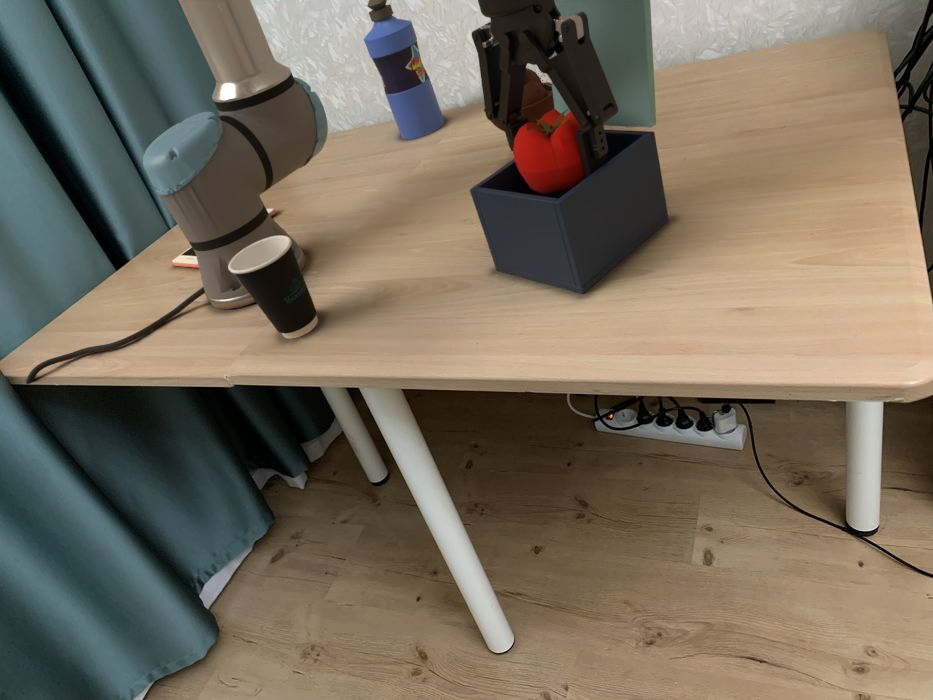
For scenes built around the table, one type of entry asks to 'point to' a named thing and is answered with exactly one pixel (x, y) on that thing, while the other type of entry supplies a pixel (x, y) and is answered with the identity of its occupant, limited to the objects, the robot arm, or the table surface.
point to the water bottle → (402, 72)
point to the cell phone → (190, 256)
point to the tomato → (549, 153)
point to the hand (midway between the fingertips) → (564, 180)
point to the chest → (575, 216)
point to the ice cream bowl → (534, 99)
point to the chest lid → (620, 56)
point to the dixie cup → (276, 284)
